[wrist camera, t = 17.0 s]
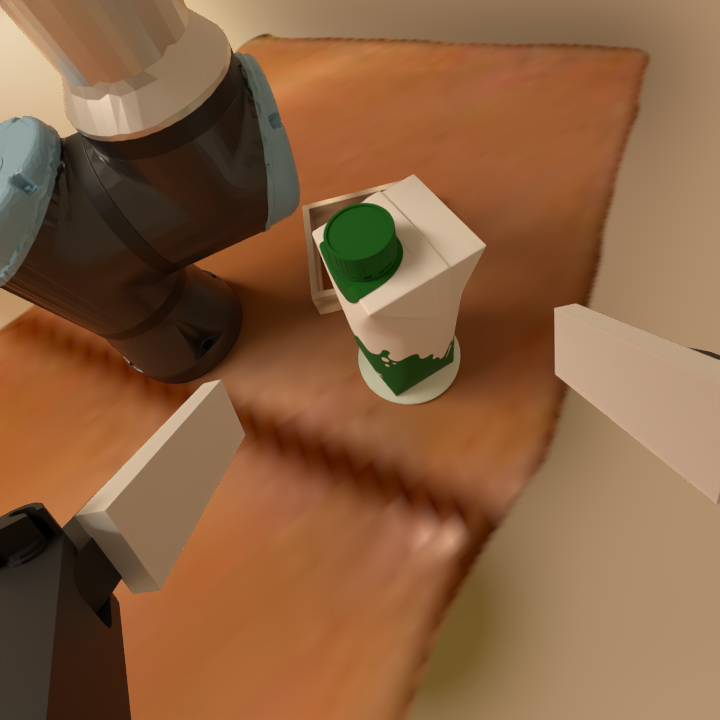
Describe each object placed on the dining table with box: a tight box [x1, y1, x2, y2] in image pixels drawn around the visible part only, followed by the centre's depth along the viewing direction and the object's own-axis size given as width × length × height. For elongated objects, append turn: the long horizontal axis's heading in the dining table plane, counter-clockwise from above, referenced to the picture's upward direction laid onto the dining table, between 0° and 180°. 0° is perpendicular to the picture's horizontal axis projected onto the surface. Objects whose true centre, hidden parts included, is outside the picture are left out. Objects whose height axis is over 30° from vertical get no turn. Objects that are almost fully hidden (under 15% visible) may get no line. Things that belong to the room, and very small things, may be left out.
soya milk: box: [312, 174, 486, 396], centre depth 27 cm, size 9×9×20 cm
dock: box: [302, 180, 402, 315], centre depth 42 cm, size 15×15×4 cm
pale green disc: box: [358, 335, 461, 405], centre depth 37 cm, size 11×11×1 cm
